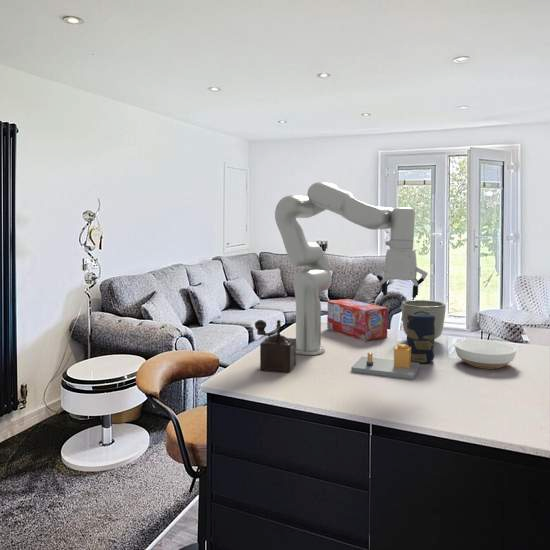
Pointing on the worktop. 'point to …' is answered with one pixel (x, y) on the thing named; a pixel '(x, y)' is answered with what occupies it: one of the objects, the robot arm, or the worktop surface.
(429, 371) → the worktop surface
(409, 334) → the canister
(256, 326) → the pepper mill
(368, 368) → the plate
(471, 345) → the bowl
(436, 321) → the planter
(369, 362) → the copper post
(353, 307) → the box
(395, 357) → the yellow cube with sphere
